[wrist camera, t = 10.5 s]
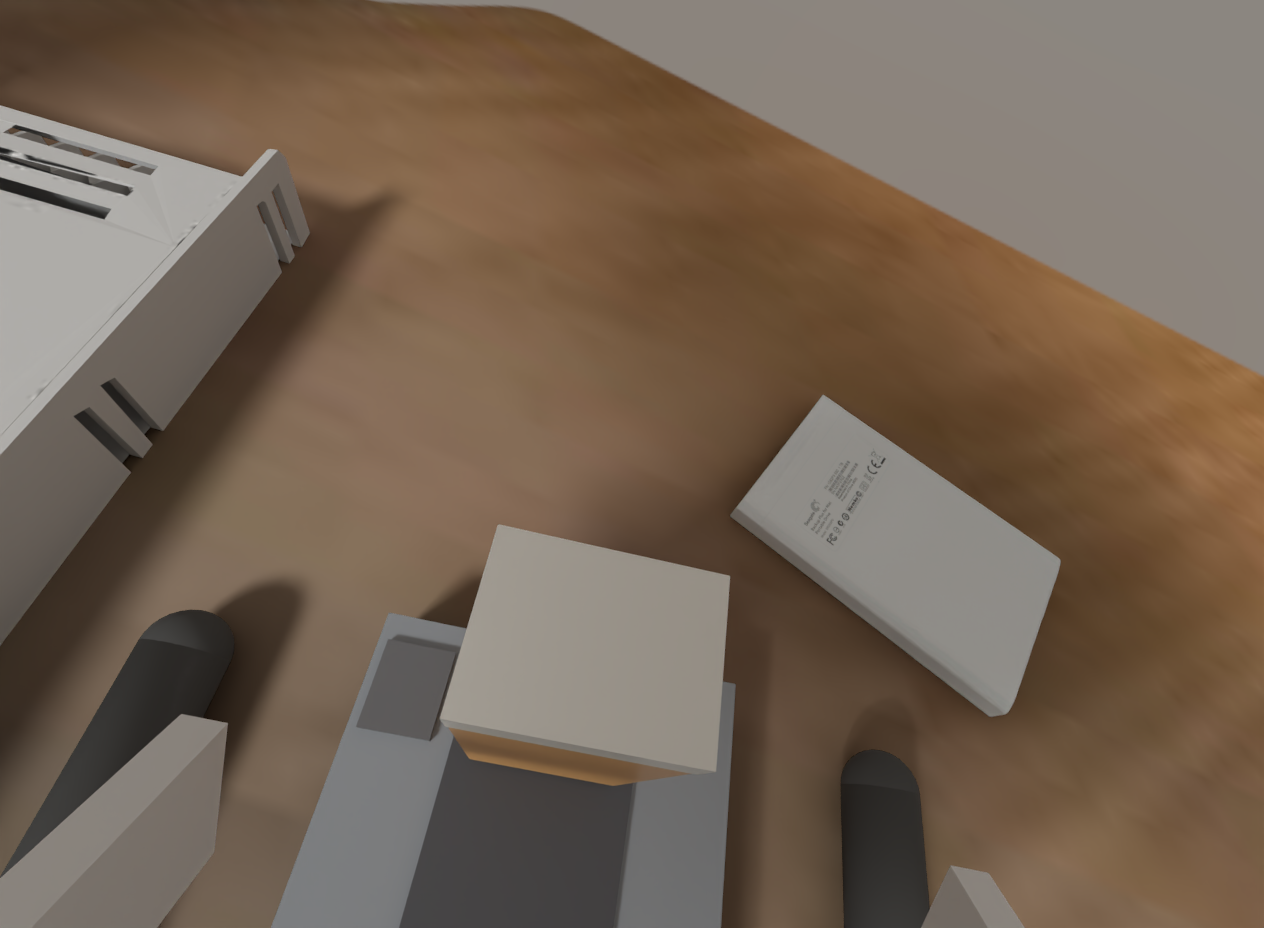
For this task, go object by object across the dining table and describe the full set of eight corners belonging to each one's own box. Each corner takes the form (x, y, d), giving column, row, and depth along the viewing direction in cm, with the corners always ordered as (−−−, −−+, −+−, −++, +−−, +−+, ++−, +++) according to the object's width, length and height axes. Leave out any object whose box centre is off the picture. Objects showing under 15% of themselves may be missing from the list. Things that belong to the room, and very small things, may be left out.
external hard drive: (980, 719, 23) (724, 520, 25) (1035, 569, 27) (811, 408, 29) (1011, 714, 22) (738, 504, 24) (1064, 556, 26) (827, 389, 28)
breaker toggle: (613, 787, 16) (715, 772, 9) (468, 759, 16) (439, 718, 8) (630, 674, 18) (730, 576, 10) (498, 647, 18) (498, 524, 10)
